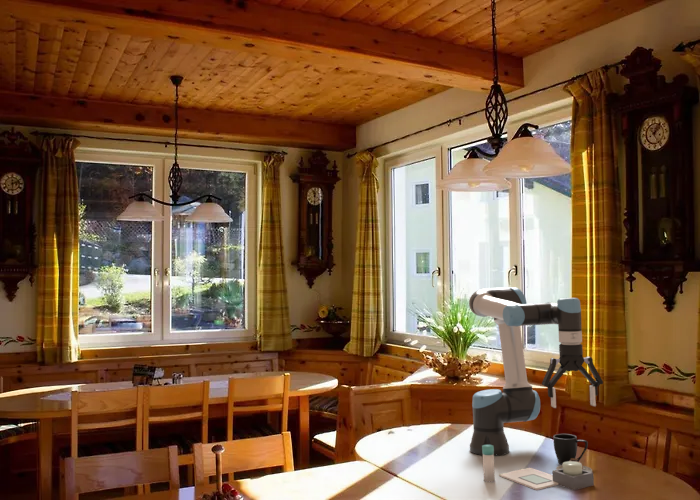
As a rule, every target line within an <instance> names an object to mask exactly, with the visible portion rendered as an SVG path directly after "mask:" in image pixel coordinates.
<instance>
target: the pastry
mask: <svg viewBox="0 0 700 500" xmlns="http://www.w3.org/2000/svg"><path fill="white" fill-rule="evenodd" d="M577 458H578V457H576V458H571V459H570V461H573V462H578V461H577V460H578V459H577ZM579 463H581V464H582V462H581V461H579ZM562 468H563V464H560V465H558V466H556V468H555V470H557V469H562ZM582 469H583V470H586V471H589V472H592V473H593V468H591V467H589V466H586V465H582Z"/></svg>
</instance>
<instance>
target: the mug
mask: <svg viewBox="0 0 700 500" xmlns="http://www.w3.org/2000/svg"><path fill="white" fill-rule="evenodd" d="M552 439H553V450H554V453H555V456H556V458H557V459H556V460H557V463H558V465H559V464H560V465H563V462H568V461H570V459H571V458H577V459H578V460H577V461H578V462H580V461H581V459H582V457H583V455H584V454H585V453H586V451H587V449H588V446H589V445H588V444H589V442H588V441H587V440H585V439H578V437H577V435H575V434H570V433H558V434H553V436H552ZM579 442H583V443H584V445H585V446H584V449H583V451H582V452H581V454H580V456H578V457H577V453H578V443H579Z"/></svg>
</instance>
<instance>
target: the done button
mask: <svg viewBox="0 0 700 500" xmlns="http://www.w3.org/2000/svg"><path fill="white" fill-rule="evenodd" d="M579 462H580V461H579ZM579 462H573V461H568V462H563V464H562V465H563V473H565V474H568V475H571V476H576V475H580V474H582V466H583V464H582V462H581V463H579Z"/></svg>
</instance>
